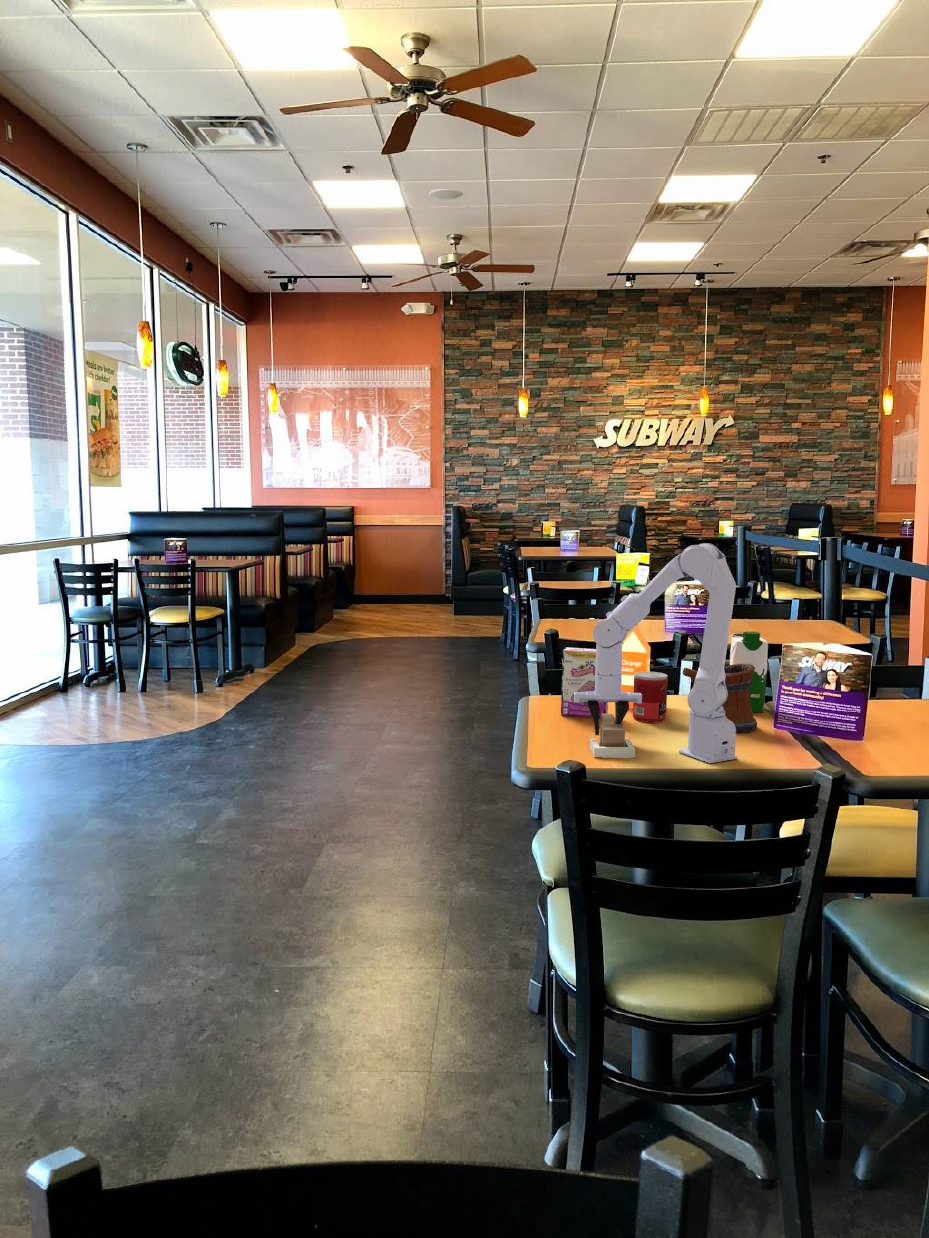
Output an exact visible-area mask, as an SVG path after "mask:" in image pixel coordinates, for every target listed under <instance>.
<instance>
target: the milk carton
mask: <svg viewBox="0 0 929 1238" xmlns="http://www.w3.org/2000/svg"><path fill="white" fill-rule="evenodd" d="M768 650H769V642H768V641H767V640H766V639H765V638H762V637H761V633H760V632H757V631H743V636H742V637H740V636H739V637H738V636H737V637H736V636H734V637H733V636H732V637H731V643H730V651H729V652H730V654H729V665H734V664H751V665H753V666H754V667H755V670H754V673H753V676H752V679H751V680H752V685H751V687H750V704H751V709H752V712H753V713H761V714H763V713H764V706H765V702H766V701H765V699H766V690H767V677H768V676H767V672H768Z"/></svg>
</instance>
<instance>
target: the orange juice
mask: <svg viewBox="0 0 929 1238" xmlns="http://www.w3.org/2000/svg"><path fill="white" fill-rule="evenodd" d="M625 639H626V640H624V641H623V643H622V685H621V692H631V693H633V690H634V674H635V673H637V672H651V671H650V670H651V669H650V666H651V663H650V662H651V648H652V647H651V646H650V645H649V643H648V642H647V640H646V638H645V637H644V636H643V634H642V632H641V631H640V629H639V628H638V626H637V625H636V626H635V627H634V628H633V629H632V632H631V633H630V634H629V635H628V637H626V638H625ZM629 709H630V710H631V709H632V710H633V703H630V702H629Z"/></svg>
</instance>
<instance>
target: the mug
mask: <svg viewBox="0 0 929 1238" xmlns="http://www.w3.org/2000/svg"><path fill="white" fill-rule="evenodd" d="M754 670H755V667H754V666H753V665H751V664H734V665H730V664H729V665H727V666H724V671H725V675H726V677H725V685H726V688H727V692H728V696H727V699H726V701H725V702H724V704H722V707H723V708H724V711H725V716H726V718H727V719H728V720H730V721H732V722H733V723H734V725H735V728H736V733H752V732H754V731H755V730H757V728H758V721H757V719H756V718H755V717H754V712H752V709H751V704H750V687H751V685H752V680H751V679H752V676H753V673H754ZM697 672H698V670H696V669H691V668H689V667H684V668H683V669H682V675H683V676H684V677H687V678H690V679H691V682H692V687H693V686H694V683H695V678H696V675H697Z"/></svg>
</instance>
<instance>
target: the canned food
mask: <svg viewBox="0 0 929 1238" xmlns="http://www.w3.org/2000/svg"><path fill="white" fill-rule="evenodd" d="M668 680H669V679H668V674H667V673H663V672H658V671H650V672H637V673H635V674H634V690H633V693H641V694H642V703H633V709H632V716H633V717H632V718H633V719H634V720H635V721H638V722H642V723H652V724H653V723H662V722H664V721H665V720H666V718H667V706H668V705H667V703H668V682H669V681H668Z"/></svg>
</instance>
